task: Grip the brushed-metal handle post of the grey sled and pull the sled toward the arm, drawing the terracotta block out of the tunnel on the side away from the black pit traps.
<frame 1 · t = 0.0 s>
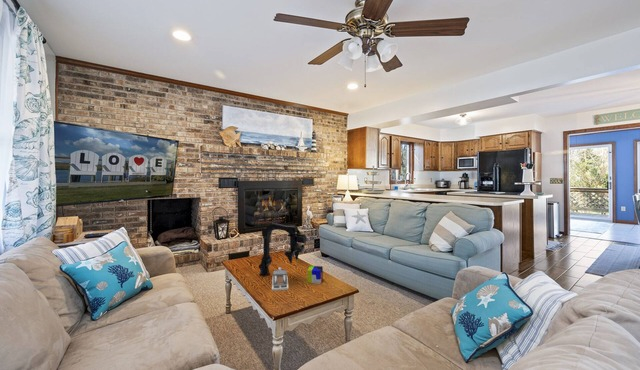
hand: (293, 261, 213), 15 cm above the table, tool pointing down, fingers open, 9 cm apart
tunnel: (280, 277, 202), on the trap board, point 6 cm above the table
puzzle toy: (315, 281, 210), on the table
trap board: (280, 283, 206), on the table
sled: (279, 275, 207), point 6 cm above the table, slide at 0.0 cm
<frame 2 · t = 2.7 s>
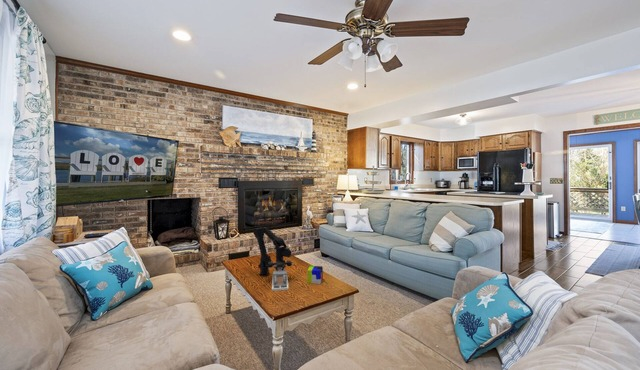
hand: (279, 274, 213), 4 cm above the table, tool pointing down, fingers closed on sled, 2 cm apart
sled: (279, 275, 207), point 6 cm above the table, slide at 0.0 cm, touching gripper
everything else where it was.
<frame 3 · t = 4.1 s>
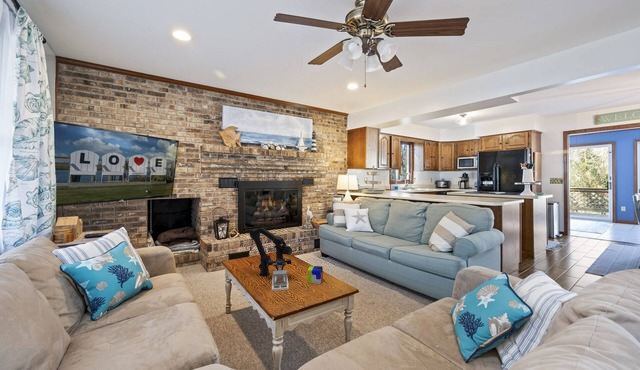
hand: (279, 272, 218), 4 cm above the table, tool pointing down, fingers closed on sled, 2 cm apart
sled: (279, 273, 212), point 6 cm above the table, slide at 4.6 cm, touching gripper
everything else where it was.
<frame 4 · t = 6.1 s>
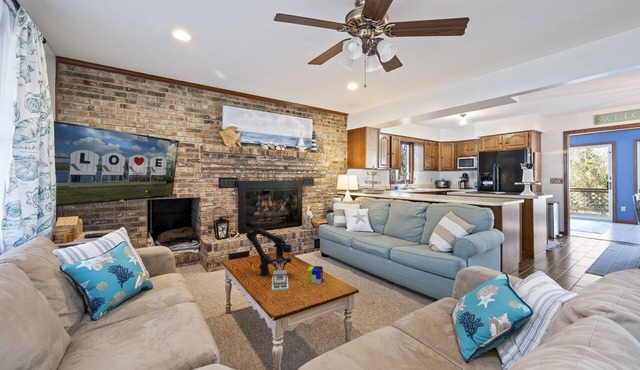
hand: (279, 270, 222), 4 cm above the table, tool pointing down, fingers open, 5 cm apart
sled: (279, 271, 215), point 6 cm above the table, slide at 8.4 cm
everything else where it was.
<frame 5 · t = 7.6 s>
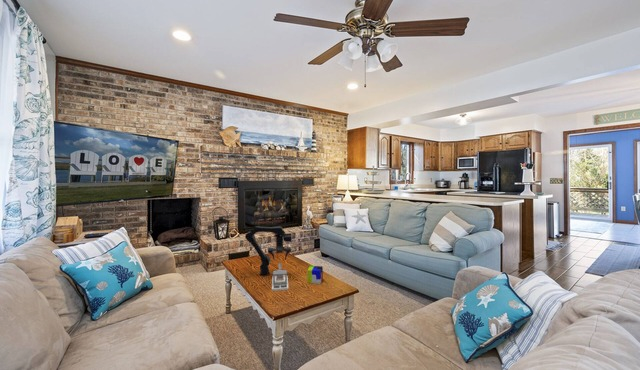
hand: (279, 260, 224), 12 cm above the table, tool pointing down, fingers open, 9 cm apart
nothing on the table moved.
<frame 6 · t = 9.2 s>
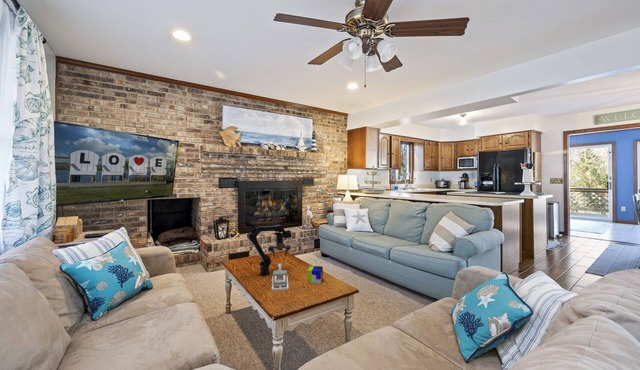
hand: (279, 257, 232), 12 cm above the table, tool pointing down, fingers open, 9 cm apart
nothing on the table moved.
at the end: sled slide at 8.4 cm; the gripper is holding nothing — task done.
